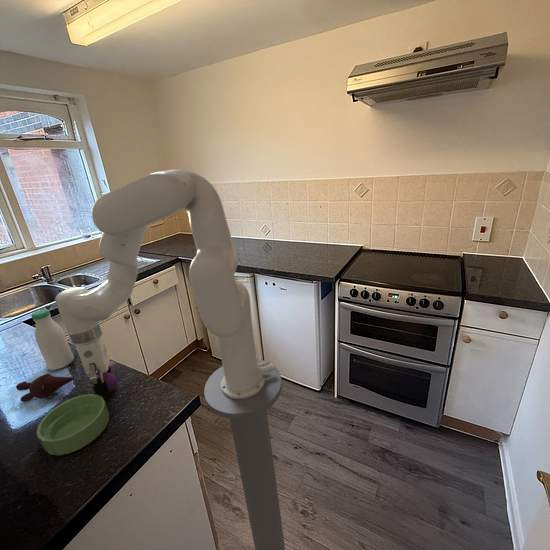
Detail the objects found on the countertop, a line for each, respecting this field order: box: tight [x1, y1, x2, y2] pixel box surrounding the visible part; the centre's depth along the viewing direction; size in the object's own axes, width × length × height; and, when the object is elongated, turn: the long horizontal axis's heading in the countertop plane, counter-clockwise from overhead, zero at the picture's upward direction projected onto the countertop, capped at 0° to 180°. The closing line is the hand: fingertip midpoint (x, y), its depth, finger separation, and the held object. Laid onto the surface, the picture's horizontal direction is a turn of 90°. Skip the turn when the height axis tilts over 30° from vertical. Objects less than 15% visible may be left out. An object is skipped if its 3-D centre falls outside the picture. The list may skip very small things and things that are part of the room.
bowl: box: [36, 393, 110, 456], centre depth 74 cm, size 14×14×5 cm
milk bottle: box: [31, 308, 75, 371], centre depth 99 cm, size 8×8×20 cm
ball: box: [96, 372, 118, 394], centre depth 86 cm, size 6×6×6 cm
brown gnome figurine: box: [15, 373, 75, 403], centre depth 87 cm, size 7×7×15 cm
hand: (104, 383), depth 86 cm, fingers open, 9 cm apart
